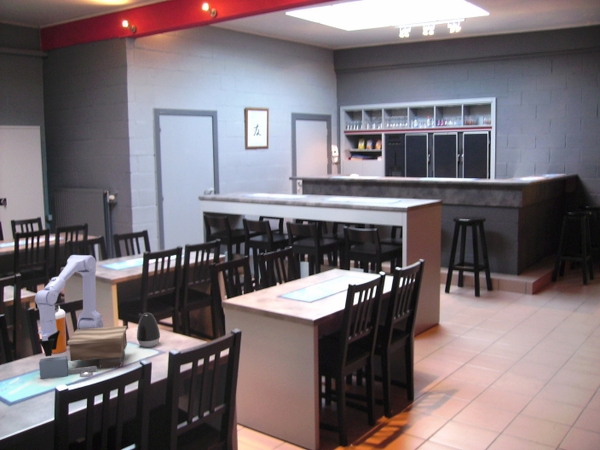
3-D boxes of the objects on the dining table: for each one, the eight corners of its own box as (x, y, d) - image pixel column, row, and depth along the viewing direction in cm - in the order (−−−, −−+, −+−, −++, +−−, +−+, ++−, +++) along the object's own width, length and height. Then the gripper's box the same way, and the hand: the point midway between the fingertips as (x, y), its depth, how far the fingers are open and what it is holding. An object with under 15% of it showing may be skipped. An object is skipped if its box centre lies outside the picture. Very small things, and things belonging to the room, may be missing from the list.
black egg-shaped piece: (150, 340, 289) (147, 308, 287) (165, 344, 283) (163, 311, 281) (132, 346, 281) (130, 313, 279) (147, 350, 275) (145, 317, 273)
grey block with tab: (42, 375, 249) (40, 358, 248) (97, 369, 254) (95, 352, 253) (40, 379, 245) (39, 362, 244) (96, 372, 250) (95, 355, 249)
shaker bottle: (48, 355, 273) (44, 311, 270) (46, 350, 281) (42, 306, 278) (69, 351, 277) (66, 308, 274) (67, 346, 285) (63, 303, 282)
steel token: (79, 374, 249) (79, 370, 249) (92, 372, 251) (92, 368, 251) (79, 378, 245) (79, 374, 245) (93, 376, 247) (93, 372, 246)
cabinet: (78, 358, 268) (76, 329, 267) (128, 354, 271) (126, 325, 269) (70, 372, 251) (67, 341, 250) (123, 367, 254) (121, 337, 253)
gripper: (42, 315, 255) (45, 347, 257) (32, 325, 240) (35, 359, 242) (60, 314, 256) (63, 346, 258) (51, 324, 241) (54, 358, 243)
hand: (51, 352), depth 250 cm, fingers open, 7 cm apart
